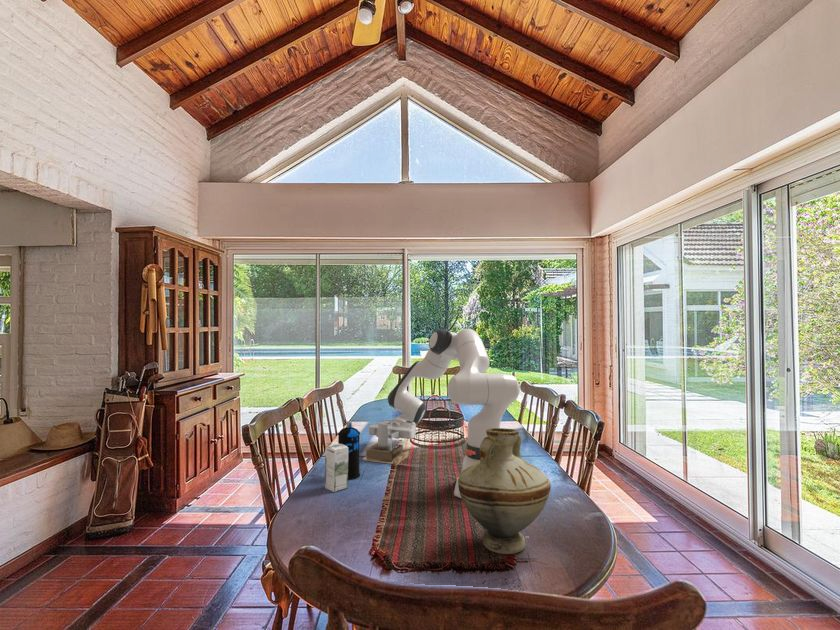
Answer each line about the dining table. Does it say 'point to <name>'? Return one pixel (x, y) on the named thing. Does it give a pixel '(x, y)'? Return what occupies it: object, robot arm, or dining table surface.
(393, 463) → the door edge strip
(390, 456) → the keeper
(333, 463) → the syrup box
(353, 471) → the aerosol can
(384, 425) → the bar
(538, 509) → the amphora
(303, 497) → the dining table surface
